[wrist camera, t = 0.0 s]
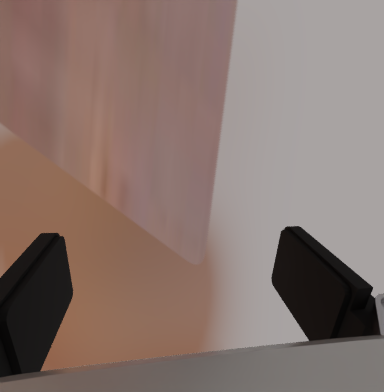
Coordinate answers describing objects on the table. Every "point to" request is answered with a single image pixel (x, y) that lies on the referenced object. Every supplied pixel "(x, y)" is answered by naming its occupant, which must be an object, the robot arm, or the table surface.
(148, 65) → the table surface
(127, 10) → the table surface
